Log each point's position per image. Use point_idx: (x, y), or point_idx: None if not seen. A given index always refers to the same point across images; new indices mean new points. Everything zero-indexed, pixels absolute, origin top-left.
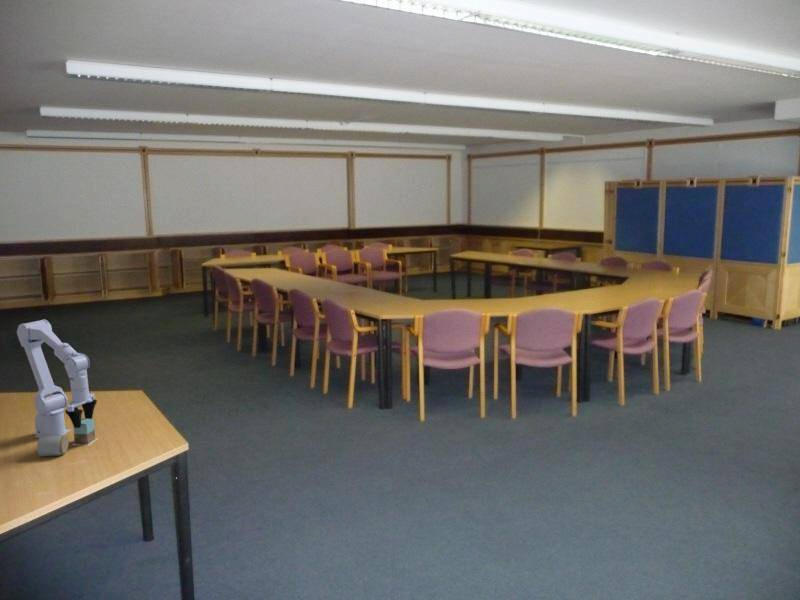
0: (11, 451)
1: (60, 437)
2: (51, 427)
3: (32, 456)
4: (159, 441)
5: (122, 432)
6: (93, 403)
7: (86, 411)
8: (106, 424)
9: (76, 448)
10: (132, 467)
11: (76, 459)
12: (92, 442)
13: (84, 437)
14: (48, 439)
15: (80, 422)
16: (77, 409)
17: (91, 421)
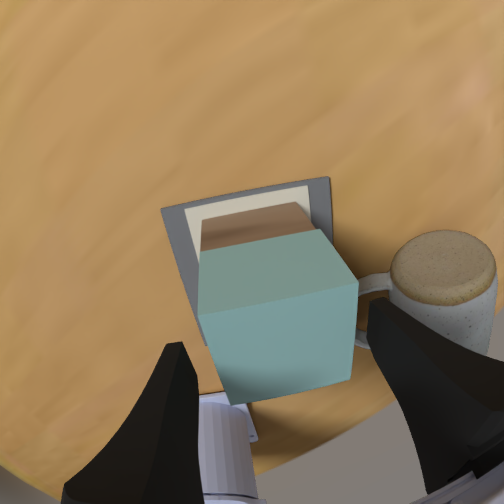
0: (368, 411)
1: (490, 291)
2: (246, 445)
3: None
4: None
5: (43, 139)
6: (146, 501)
7: (188, 440)
8: (20, 315)
9: (345, 233)
10: None
11: (462, 136)
12: (259, 196)
13: None
14: (492, 324)
15: (405, 322)
16: (490, 444)
17: (253, 296)
